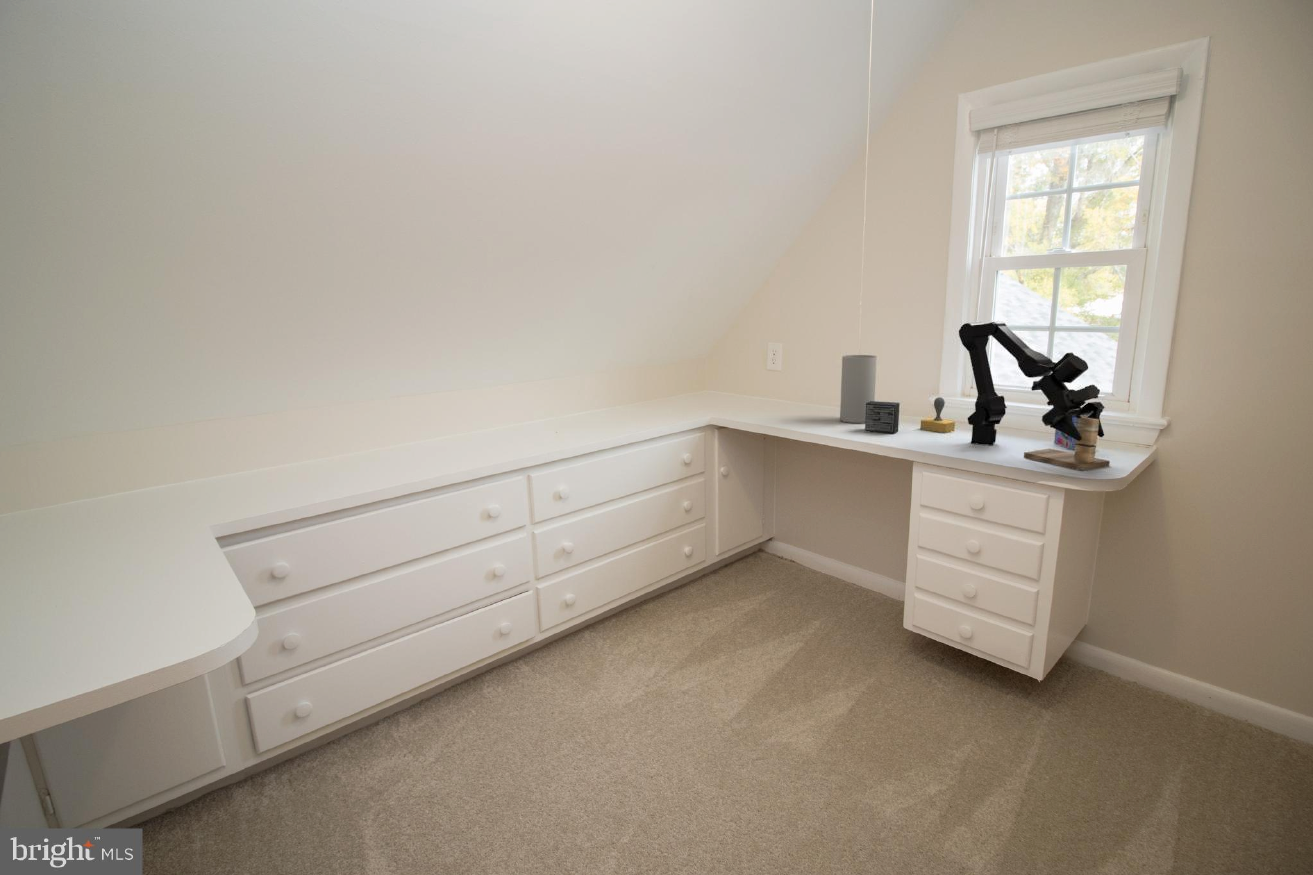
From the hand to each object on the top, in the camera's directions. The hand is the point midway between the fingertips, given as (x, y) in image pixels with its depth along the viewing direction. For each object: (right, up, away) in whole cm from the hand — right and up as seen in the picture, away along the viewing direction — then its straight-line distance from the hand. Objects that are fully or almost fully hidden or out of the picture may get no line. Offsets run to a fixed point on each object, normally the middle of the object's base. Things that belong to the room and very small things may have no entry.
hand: (1091, 438), depth 177 cm
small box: (-38, +2, +55) cm, 67 cm away
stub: (-1, -1, +2) cm, 2 cm away
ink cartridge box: (+11, -3, +26) cm, 28 cm away
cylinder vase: (-41, +6, +75) cm, 86 cm away
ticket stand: (-2, -7, +8) cm, 10 cm away
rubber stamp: (-19, +3, +54) cm, 57 cm away
